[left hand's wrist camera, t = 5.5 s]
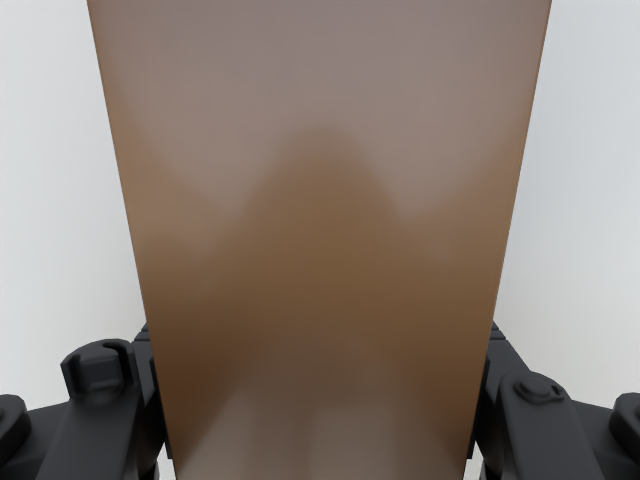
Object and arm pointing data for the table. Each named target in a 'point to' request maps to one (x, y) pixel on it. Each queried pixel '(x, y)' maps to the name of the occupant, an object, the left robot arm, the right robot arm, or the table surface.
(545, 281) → the table surface
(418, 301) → the bar
